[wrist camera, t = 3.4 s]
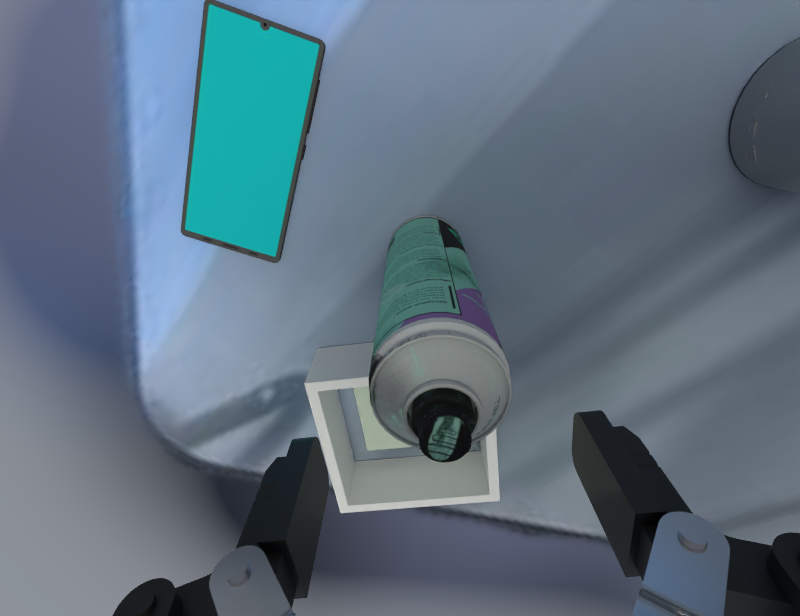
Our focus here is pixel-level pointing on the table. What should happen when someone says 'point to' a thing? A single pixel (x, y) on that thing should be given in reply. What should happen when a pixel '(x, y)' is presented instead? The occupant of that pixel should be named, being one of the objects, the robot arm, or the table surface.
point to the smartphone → (248, 129)
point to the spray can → (435, 346)
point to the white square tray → (386, 447)
